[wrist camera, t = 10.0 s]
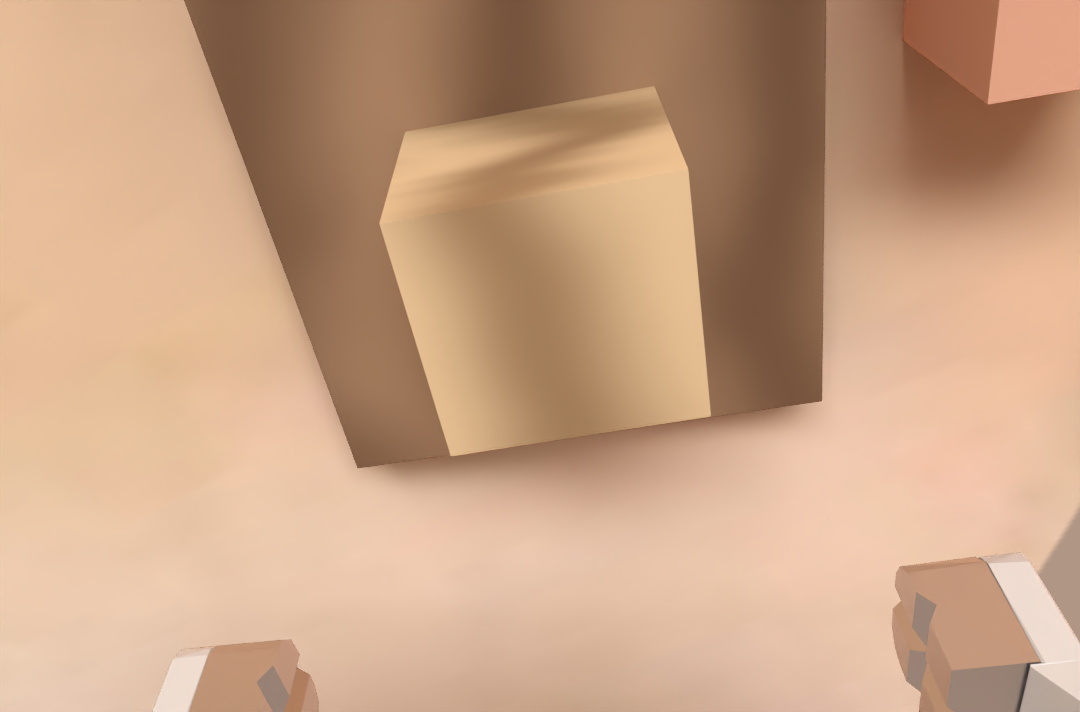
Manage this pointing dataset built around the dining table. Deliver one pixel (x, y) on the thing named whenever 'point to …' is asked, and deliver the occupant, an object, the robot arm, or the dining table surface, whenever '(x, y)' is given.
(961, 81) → the terracotta block
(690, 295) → the oak block
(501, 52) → the base board
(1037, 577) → the robot arm
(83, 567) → the dining table surface
